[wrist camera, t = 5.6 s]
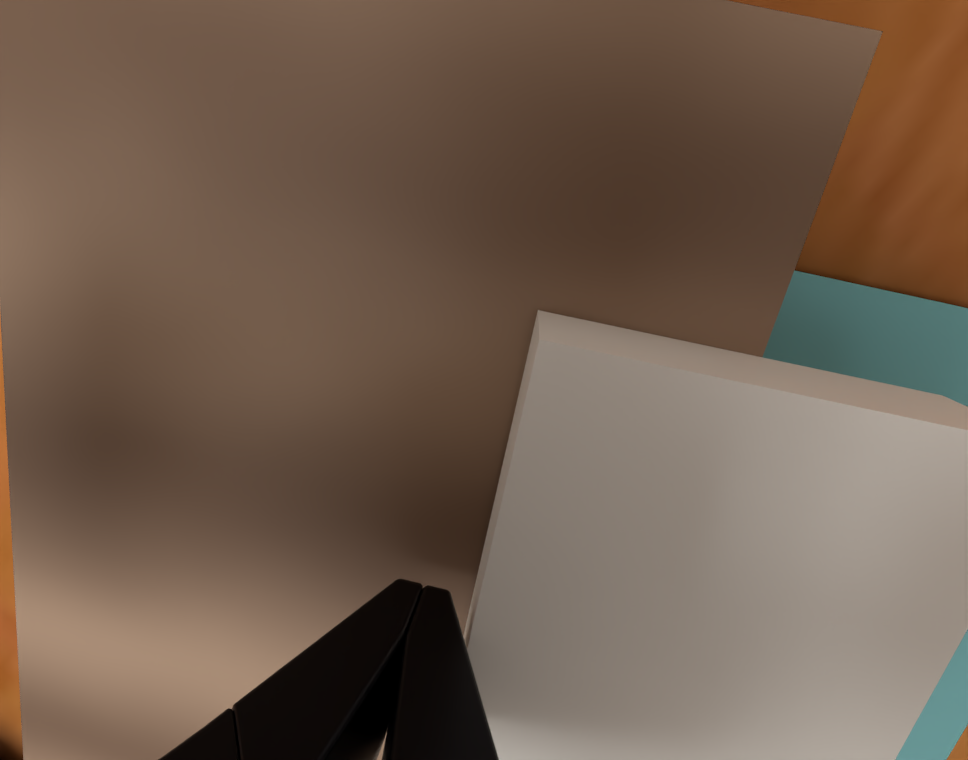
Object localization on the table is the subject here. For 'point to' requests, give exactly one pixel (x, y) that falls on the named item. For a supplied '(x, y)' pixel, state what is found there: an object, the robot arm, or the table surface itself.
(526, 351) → the brown flat block
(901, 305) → the mat
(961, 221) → the table surface
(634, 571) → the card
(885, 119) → the table surface
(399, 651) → the robot arm
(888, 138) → the table surface
